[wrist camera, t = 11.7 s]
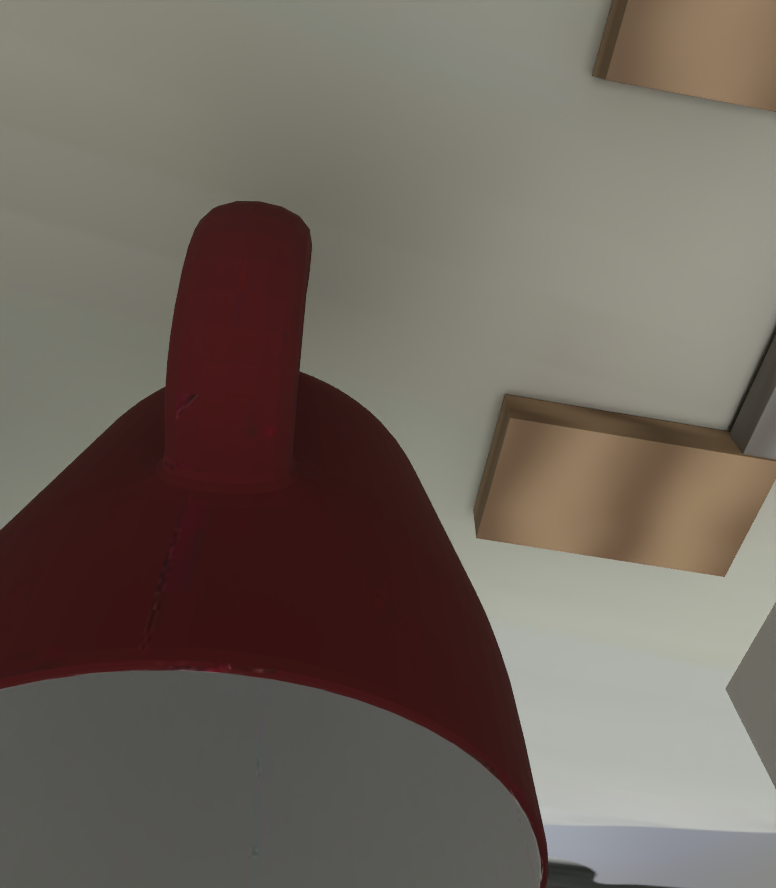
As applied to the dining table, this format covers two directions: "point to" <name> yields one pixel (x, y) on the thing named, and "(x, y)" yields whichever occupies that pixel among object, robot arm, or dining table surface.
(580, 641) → the dining table surface
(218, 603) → the mug
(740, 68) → the wooden stand
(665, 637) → the dining table surface
